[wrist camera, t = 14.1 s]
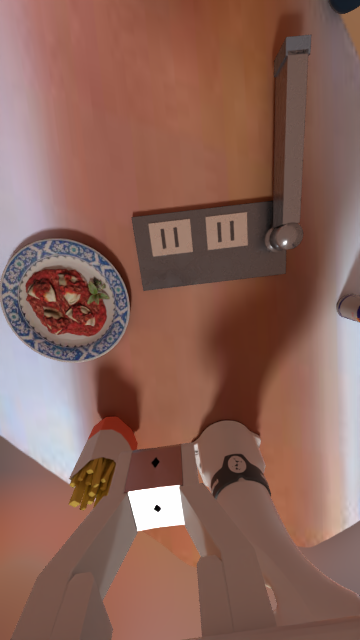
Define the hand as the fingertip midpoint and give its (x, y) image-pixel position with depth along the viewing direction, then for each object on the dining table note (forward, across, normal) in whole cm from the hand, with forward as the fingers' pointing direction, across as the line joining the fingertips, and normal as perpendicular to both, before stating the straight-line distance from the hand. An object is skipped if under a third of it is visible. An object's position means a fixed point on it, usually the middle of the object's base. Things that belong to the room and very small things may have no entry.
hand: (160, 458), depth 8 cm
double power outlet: (+37, -10, -10) cm, 40 cm away
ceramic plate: (+38, +21, -2) cm, 43 cm away
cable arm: (+34, -23, -22) cm, 47 cm away
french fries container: (+37, +17, +31) cm, 51 cm away
